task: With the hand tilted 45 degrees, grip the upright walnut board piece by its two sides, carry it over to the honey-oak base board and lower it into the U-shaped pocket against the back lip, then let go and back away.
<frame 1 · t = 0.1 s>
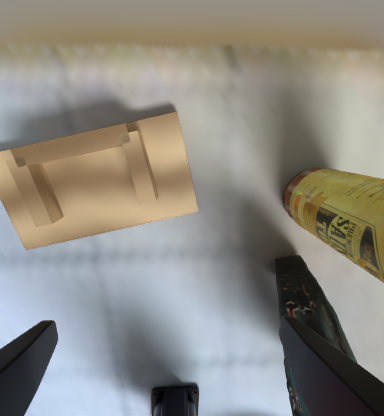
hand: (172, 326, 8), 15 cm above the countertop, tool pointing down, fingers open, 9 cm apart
teal curved piece: (303, 314, 27), on the countertop
sauce bottle: (308, 196, 23), on the countertop
oak base board: (97, 176, 21), on the countertop
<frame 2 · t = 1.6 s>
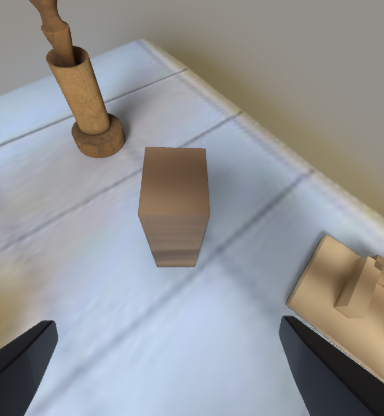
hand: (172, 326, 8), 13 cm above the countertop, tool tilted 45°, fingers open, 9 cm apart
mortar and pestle: (102, 141, 31), on the countertop
walnut board piece: (176, 244, 24), on the countertop
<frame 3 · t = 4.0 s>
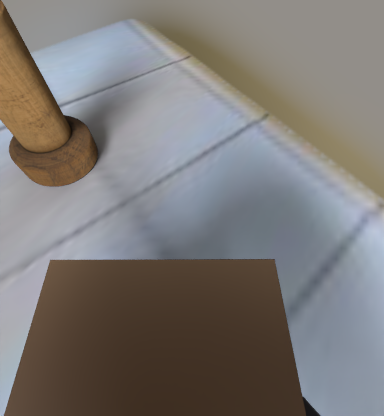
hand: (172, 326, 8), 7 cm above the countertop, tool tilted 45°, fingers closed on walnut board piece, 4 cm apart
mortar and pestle: (63, 159, 21), on the countertop
walnut board piece: (173, 350, 14), on the countertop, touching gripper
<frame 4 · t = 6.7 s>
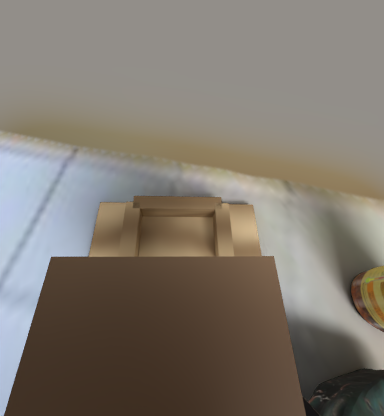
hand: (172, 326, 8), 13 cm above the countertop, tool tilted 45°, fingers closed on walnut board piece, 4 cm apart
walnut board piece: (173, 348, 14), point 7 cm above the countertop, touching gripper
sauce bottle: (376, 303, 22), on the countertop
oak base board: (177, 238, 24), on the countertop
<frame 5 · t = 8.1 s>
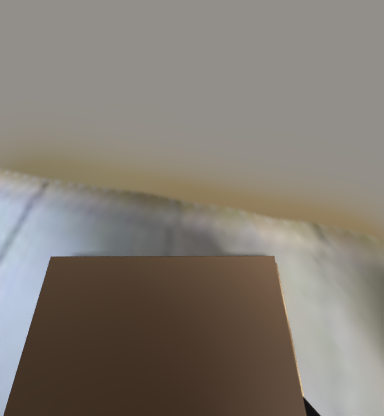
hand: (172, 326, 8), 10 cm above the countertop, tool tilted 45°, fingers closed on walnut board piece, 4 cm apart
walnut board piece: (173, 348, 14), point 3 cm above the countertop, touching gripper
when the fingers open (9 cm above the countertop, at t = 8.7 s): walnut board piece drops 2 cm, resting on oak base board.
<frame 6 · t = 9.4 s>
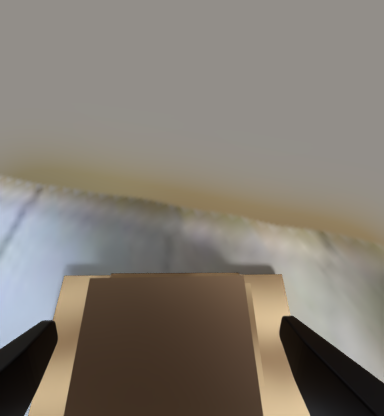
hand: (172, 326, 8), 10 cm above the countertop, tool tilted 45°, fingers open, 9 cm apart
walnut board piece: (174, 345, 15), point 1 cm above the countertop, touching oak base board
oak base board: (175, 330, 17), on the countertop
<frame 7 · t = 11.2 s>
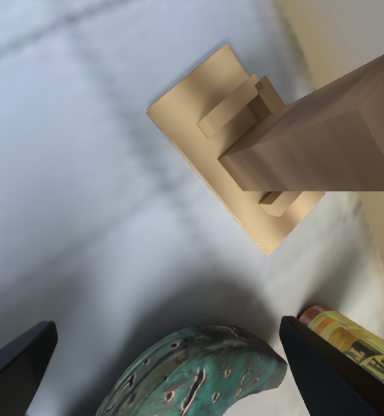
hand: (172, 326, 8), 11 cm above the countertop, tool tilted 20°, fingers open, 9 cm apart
walnut board piece: (247, 158, 20), point 1 cm above the countertop, touching oak base board
sauce bottle: (310, 327, 26), on the countertop
oak base board: (249, 153, 22), on the countertop
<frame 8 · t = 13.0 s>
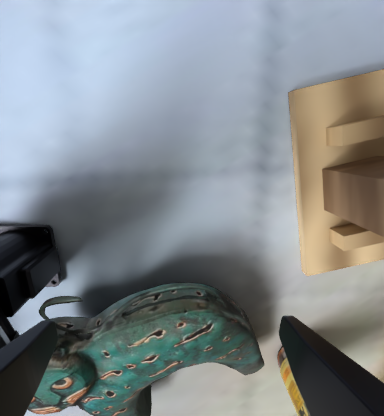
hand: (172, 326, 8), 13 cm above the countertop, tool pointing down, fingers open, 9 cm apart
teal curved piece: (190, 382, 26), point 1 cm above the countertop, touching arm
walnut board piece: (349, 183, 20), point 1 cm above the countertop, touching oak base board
sauce bottle: (296, 352, 27), on the countertop
oak base board: (351, 180, 21), on the countertop
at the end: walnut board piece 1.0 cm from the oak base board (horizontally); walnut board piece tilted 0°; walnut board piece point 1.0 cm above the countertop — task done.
